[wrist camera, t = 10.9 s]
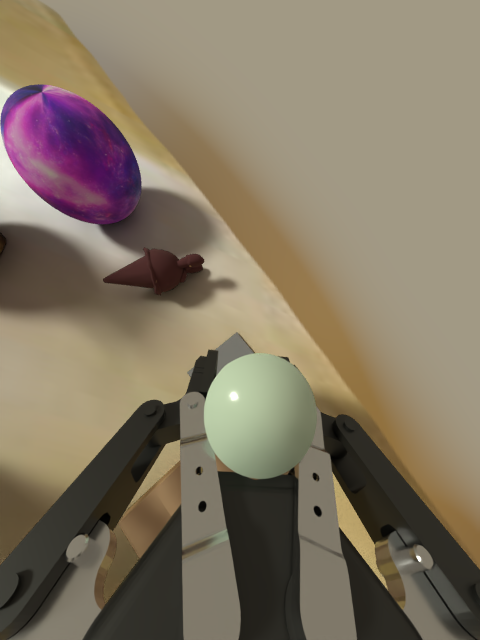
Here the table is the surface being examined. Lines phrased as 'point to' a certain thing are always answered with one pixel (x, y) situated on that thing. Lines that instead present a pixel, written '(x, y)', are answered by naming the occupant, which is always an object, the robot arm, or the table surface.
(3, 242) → the ceramic jug
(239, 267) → the table surface
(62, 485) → the table surface
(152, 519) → the pocket block
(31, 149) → the decorative orb
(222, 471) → the robot arm
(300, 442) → the ball
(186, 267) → the icecream
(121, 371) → the table surface
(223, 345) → the mat
